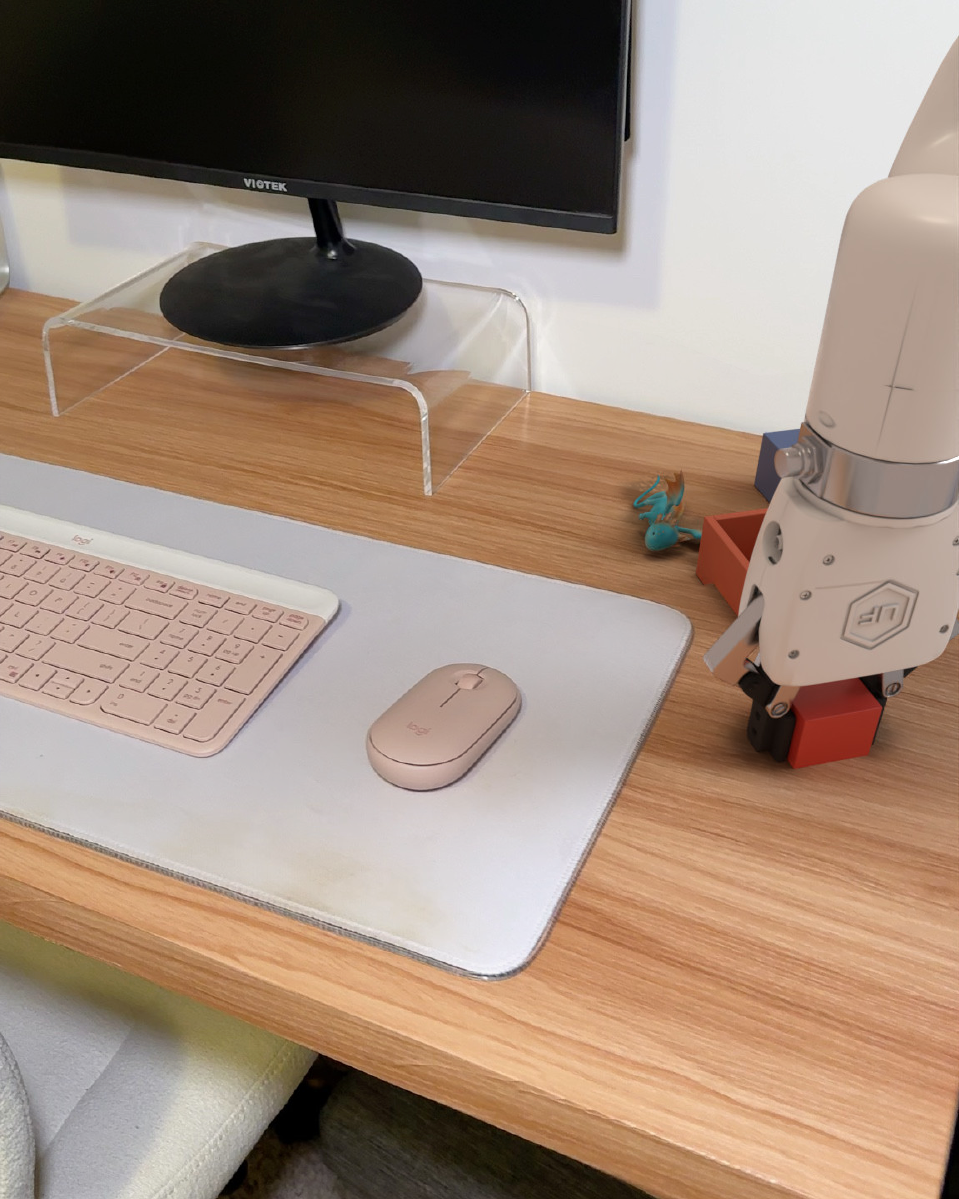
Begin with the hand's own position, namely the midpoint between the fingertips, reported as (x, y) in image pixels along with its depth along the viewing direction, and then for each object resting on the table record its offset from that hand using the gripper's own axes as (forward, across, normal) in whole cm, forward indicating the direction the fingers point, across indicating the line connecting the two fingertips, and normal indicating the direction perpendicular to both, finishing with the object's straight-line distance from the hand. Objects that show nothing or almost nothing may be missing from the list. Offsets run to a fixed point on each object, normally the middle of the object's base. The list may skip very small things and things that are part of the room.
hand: (809, 742), depth 63 cm
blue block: (0, +12, +25) cm, 28 cm away
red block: (0, 0, 0) cm, 0 cm away
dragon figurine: (+1, +1, +23) cm, 23 cm away
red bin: (0, +5, +13) cm, 14 cm away
